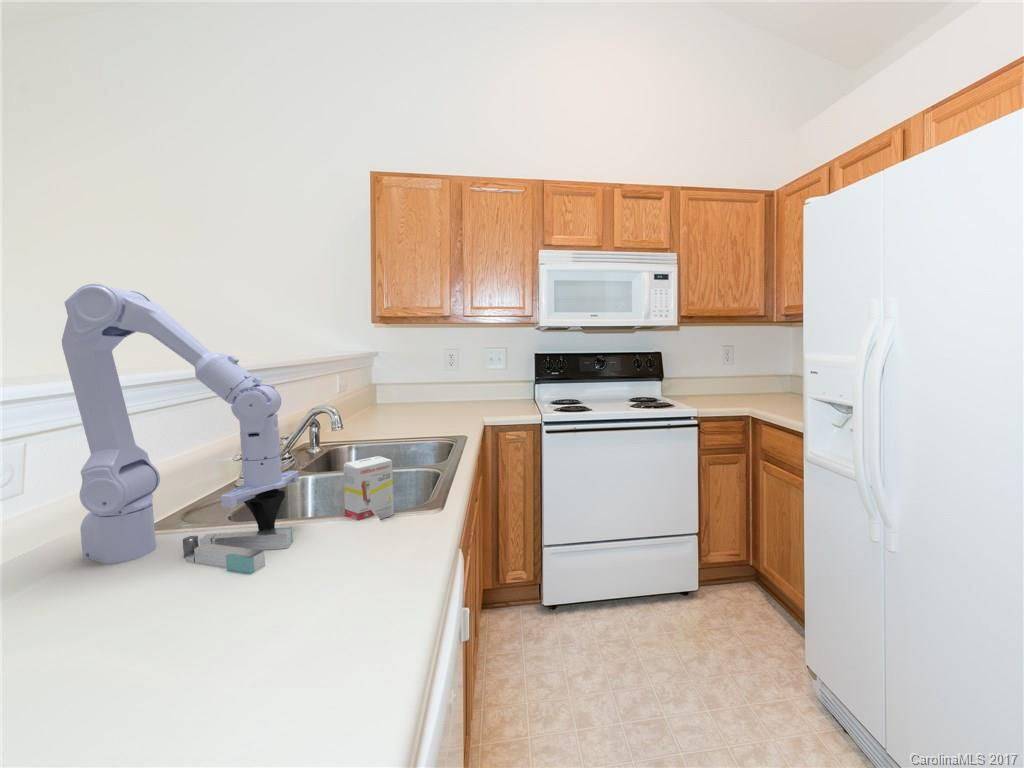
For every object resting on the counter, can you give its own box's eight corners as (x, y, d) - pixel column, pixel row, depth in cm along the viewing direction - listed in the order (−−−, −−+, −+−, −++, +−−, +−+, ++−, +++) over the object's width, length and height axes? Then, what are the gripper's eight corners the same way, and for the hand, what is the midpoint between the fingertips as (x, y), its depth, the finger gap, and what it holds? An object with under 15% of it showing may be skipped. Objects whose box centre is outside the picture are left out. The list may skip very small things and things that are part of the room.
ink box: (358, 528, 86) (355, 467, 85) (344, 522, 89) (341, 463, 88) (395, 515, 92) (393, 458, 92) (381, 510, 96) (379, 455, 95)
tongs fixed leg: (170, 563, 70) (168, 544, 70) (192, 552, 73) (191, 535, 73) (250, 575, 66) (249, 555, 65) (270, 563, 69) (269, 544, 69)
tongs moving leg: (200, 554, 72) (199, 539, 72) (209, 547, 75) (208, 532, 75) (287, 548, 74) (286, 533, 74) (292, 541, 77) (292, 527, 77)
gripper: (244, 469, 68) (250, 555, 69) (311, 448, 82) (315, 520, 83) (208, 466, 70) (214, 551, 71) (279, 446, 84) (283, 517, 85)
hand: (266, 534), depth 77 cm, fingers closed
